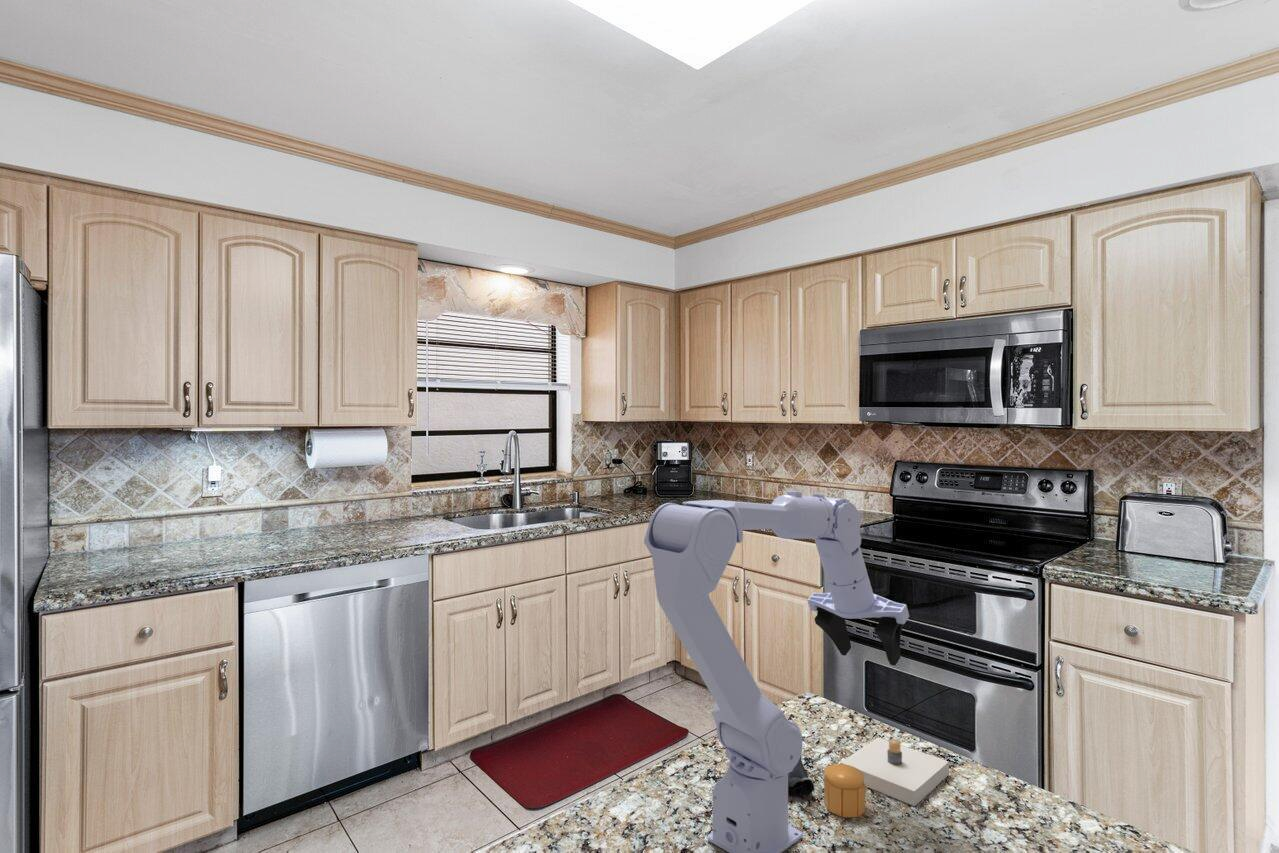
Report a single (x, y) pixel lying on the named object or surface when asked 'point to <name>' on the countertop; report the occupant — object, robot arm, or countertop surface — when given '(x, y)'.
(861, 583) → the robot arm
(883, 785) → the white base plate
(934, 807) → the countertop surface
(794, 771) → the electronic device
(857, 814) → the orange acorn nut
